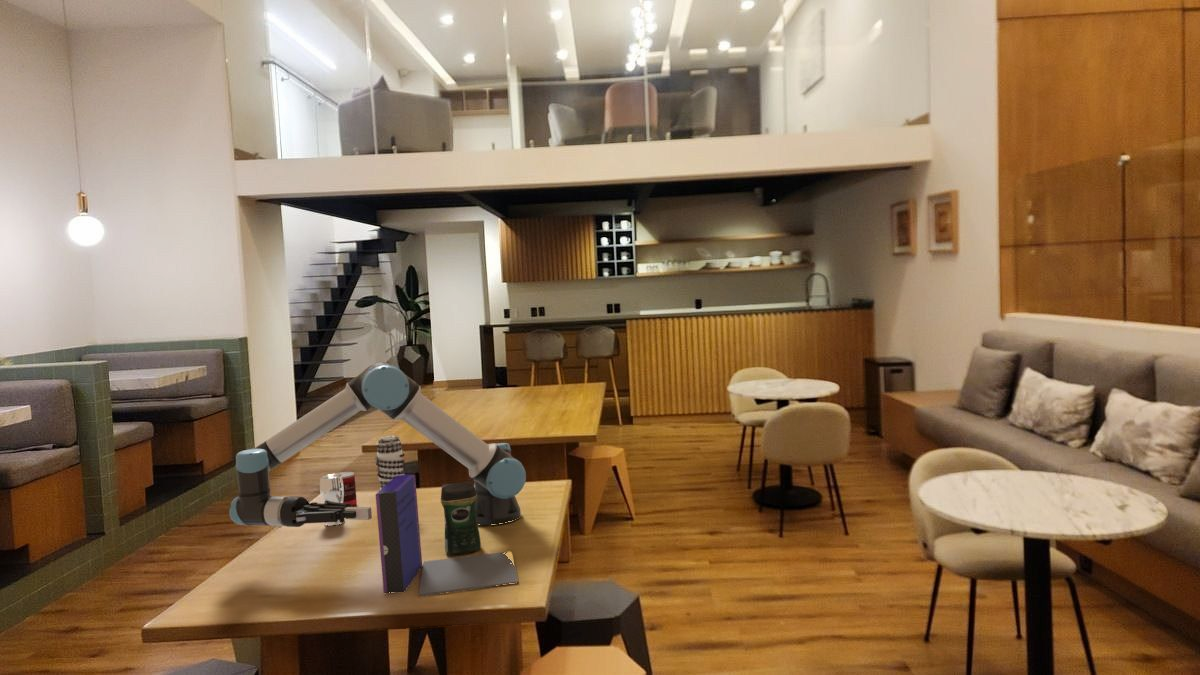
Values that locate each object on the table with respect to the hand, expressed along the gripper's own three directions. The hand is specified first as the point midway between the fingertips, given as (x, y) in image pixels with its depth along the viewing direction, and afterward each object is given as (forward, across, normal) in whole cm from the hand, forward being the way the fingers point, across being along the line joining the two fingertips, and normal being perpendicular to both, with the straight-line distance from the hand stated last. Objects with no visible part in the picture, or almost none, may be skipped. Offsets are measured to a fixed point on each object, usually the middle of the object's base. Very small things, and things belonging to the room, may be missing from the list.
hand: (369, 513), depth 186 cm
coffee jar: (+14, -21, -16) cm, 30 cm away
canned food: (-48, -59, -17) cm, 78 cm away
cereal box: (+8, 0, -16) cm, 18 cm away
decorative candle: (-25, -52, -16) cm, 60 cm away
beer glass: (-39, -41, -17) cm, 59 cm away
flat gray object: (+23, -5, -16) cm, 29 cm away
